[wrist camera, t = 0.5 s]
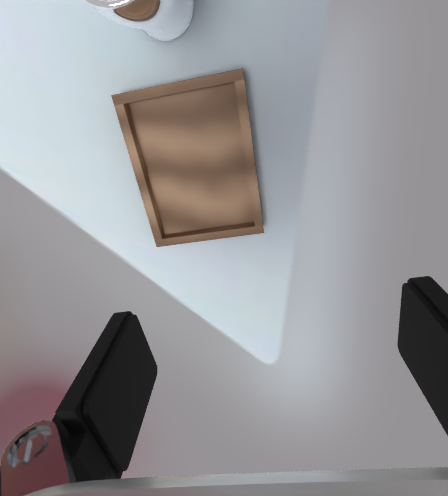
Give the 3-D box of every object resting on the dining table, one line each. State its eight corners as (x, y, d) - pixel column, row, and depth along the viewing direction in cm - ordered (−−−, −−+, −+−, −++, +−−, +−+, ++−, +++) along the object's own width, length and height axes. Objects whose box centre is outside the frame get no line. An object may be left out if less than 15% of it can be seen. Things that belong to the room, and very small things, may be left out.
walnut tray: (120, 95, 35) (111, 95, 32) (243, 70, 33) (242, 68, 31) (161, 239, 42) (156, 247, 40) (263, 225, 41) (264, 232, 38)
